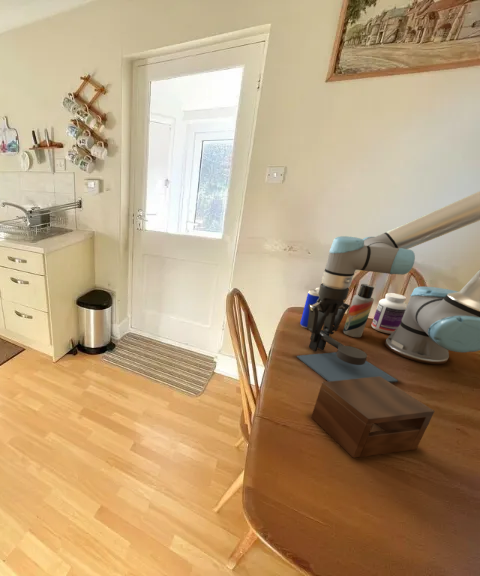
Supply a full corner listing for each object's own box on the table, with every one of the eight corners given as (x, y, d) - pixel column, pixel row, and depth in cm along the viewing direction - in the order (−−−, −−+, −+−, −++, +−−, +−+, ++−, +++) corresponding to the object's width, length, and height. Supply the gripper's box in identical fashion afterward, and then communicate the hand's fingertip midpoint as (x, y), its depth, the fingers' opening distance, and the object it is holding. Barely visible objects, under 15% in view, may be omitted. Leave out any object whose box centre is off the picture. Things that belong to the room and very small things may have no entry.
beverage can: (317, 329, 122) (327, 294, 116) (302, 328, 123) (312, 293, 117) (311, 323, 126) (321, 289, 121) (297, 322, 127) (306, 288, 122)
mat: (349, 352, 107) (350, 350, 107) (397, 381, 92) (398, 380, 92) (296, 357, 104) (296, 355, 104) (337, 388, 90) (337, 386, 89)
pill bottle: (403, 333, 119) (416, 298, 114) (388, 336, 117) (401, 301, 111) (379, 323, 126) (391, 290, 121) (365, 326, 124) (376, 293, 119)
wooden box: (366, 411, 81) (379, 376, 77) (416, 449, 70) (435, 411, 66) (311, 417, 79) (322, 382, 75) (353, 458, 68) (368, 419, 64)
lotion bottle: (338, 330, 121) (353, 282, 114) (352, 329, 121) (367, 281, 114) (351, 338, 116) (368, 288, 108) (365, 337, 116) (382, 287, 109)
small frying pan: (318, 331, 111) (320, 325, 110) (371, 364, 93) (373, 356, 92) (300, 333, 110) (302, 326, 109) (350, 365, 92) (352, 358, 91)
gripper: (323, 291, 95) (304, 356, 104) (366, 288, 97) (344, 352, 106) (304, 282, 102) (288, 344, 111) (345, 280, 104) (326, 341, 113)
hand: (316, 348), depth 108 cm, fingers closed on small frying pan, 2 cm apart
